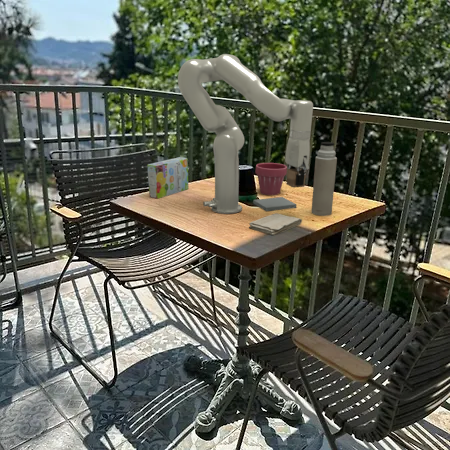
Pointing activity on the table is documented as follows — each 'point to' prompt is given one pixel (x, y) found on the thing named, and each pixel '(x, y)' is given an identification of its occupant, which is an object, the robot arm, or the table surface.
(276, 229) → the washcloth
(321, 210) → the thermos bottle
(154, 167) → the snack box
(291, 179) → the walnut block
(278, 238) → the table surface
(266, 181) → the plant pot
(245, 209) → the table surface
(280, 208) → the slate board
